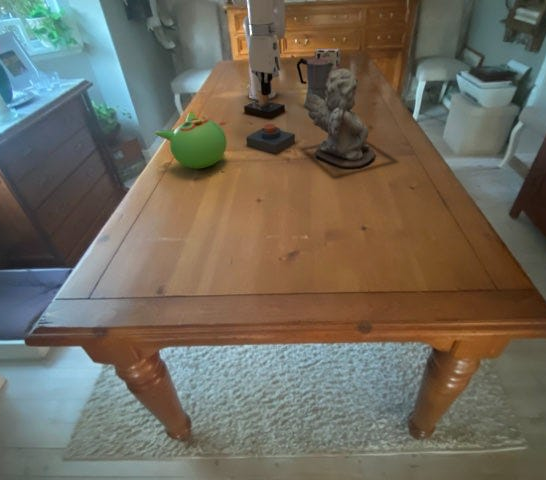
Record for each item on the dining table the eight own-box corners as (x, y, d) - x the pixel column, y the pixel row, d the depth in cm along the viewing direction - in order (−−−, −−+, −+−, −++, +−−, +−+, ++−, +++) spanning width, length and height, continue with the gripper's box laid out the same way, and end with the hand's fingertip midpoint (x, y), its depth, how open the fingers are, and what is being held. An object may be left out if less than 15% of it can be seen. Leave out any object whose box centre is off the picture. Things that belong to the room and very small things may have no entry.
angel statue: (333, 177, 103) (339, 86, 86) (302, 149, 118) (301, 67, 101) (395, 161, 109) (411, 73, 92) (357, 137, 124) (365, 57, 107)
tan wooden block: (256, 105, 144) (255, 91, 140) (263, 102, 147) (262, 88, 143) (265, 107, 142) (263, 92, 138) (271, 104, 145) (270, 89, 141)
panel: (244, 113, 147) (243, 105, 145) (259, 106, 153) (258, 99, 150) (270, 119, 140) (270, 111, 138) (285, 112, 146) (284, 104, 144)
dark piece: (247, 146, 122) (245, 131, 119) (266, 135, 129) (265, 121, 125) (276, 154, 116) (275, 139, 113) (294, 142, 123) (294, 128, 119)
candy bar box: (339, 87, 169) (341, 48, 157) (336, 90, 165) (338, 50, 154) (317, 86, 172) (317, 47, 161) (313, 88, 169) (314, 50, 157)
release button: (262, 132, 119) (261, 127, 118) (269, 128, 121) (268, 123, 120) (271, 134, 117) (270, 129, 116) (278, 130, 120) (277, 125, 118)
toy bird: (202, 182, 104) (191, 133, 94) (163, 169, 111) (149, 123, 101) (239, 158, 115) (233, 112, 105) (201, 148, 122) (192, 104, 112)
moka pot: (330, 110, 145) (333, 56, 132) (294, 109, 148) (293, 56, 134) (333, 103, 152) (336, 50, 139) (298, 102, 155) (298, 50, 141)
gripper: (288, 29, 105) (290, 94, 117) (251, 26, 111) (256, 88, 124) (273, 34, 100) (277, 101, 113) (235, 30, 107) (242, 94, 119)
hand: (266, 94), depth 118 cm, fingers closed
